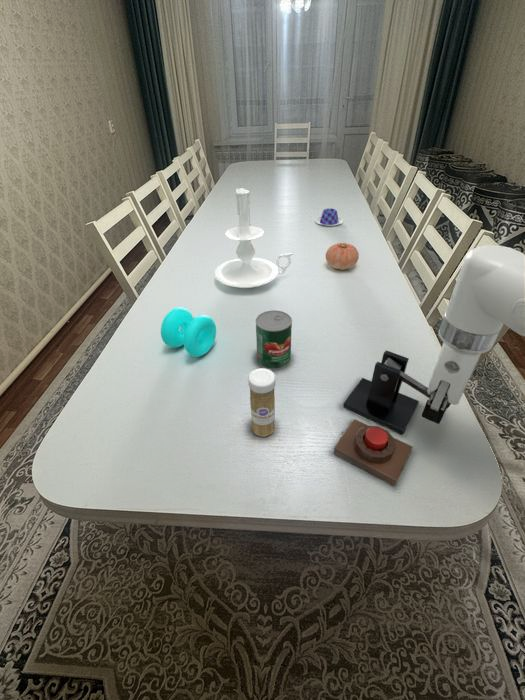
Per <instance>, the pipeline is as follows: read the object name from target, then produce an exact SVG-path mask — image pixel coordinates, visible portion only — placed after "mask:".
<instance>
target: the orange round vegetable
mask: <svg viewBox="0 0 525 700" xmlns="http://www.w3.org/2000/svg"><path fill="white" fill-rule="evenodd" d="M359 258H360V253H359V251H358V249H357V248H356V247H355V246H354V245H352V244H350V243H347V242H338V243H334V244H332V245H331V246H329V247H328V248H327V250H326V252H325V260H326V262H327V264H328V265H329V266H330V267H331V268H333V269H336V270H339V271H340V270H342V271H343V270H348V269H351V268H353V267H354V266H356V264H357V263H358V261H359Z"/></svg>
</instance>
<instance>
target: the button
mask: <svg viewBox="0 0 525 700" xmlns="http://www.w3.org/2000/svg"><path fill="white" fill-rule="evenodd" d="M380 428H381V427H380ZM380 428H377V427H372V428H369V429H368V430H367V431H366V434H365V438H364V442H365V444H366V446H367V447H368V448H370V449H372V450H376V451H379V450H382V449H384V448H385V446H386V443H387V440H388V436H387V434H386V432H385V431H384V430H382V429H380Z"/></svg>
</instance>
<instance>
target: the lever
mask: <svg viewBox="0 0 525 700" xmlns="http://www.w3.org/2000/svg"><path fill="white" fill-rule="evenodd" d="M384 364H385V365H388V366H391V367H393V368H396V369H398V370H400V369H401V367H402V365H400V364H399V363H397V362H395V361H394V360H392V359H391V358H388V359H387V360H386V362H385V363H384ZM399 379H400V380H401V381H402V383H405V384H406V385H407V386H409V387H411V388H413V389H414V390H415V391H417V392H419V393H420V394H422V395H423V396H425V397H426V398H428V399H429V398H430V396H431V394H430V395H429V394H428V392H427V390H428V387H427V386H426V385H424V384H423V383H421V382H420V381H418V380H416V379H415V378H413V377H411V376H410V375H409V374H407V373H406V372H405V373H404V372H402V371H401V374H400V377H399ZM434 398H435V396H434ZM444 401H445V399H444V398H443V400H442V402H443V403H444ZM451 405H452V404H451V403H449V401H448V402H447V405H446V407H447V409H449V408H450V407H451Z"/></svg>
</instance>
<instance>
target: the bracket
mask: <svg viewBox="0 0 525 700" xmlns="http://www.w3.org/2000/svg"><path fill="white" fill-rule="evenodd" d="M388 358H391V359H392V360H394V361H395V362H397V363H399V364H400V365H402V367H401V369H400V370H398V369H396V368H393V367H391V366H388V365H385V364H384V363H385V362H386V360H387V359H388ZM409 360H410V358H409V357H406V356H404V355H400V354H397V353H395V352H392V351H389V350H387V349H386V350H385V351H383V354H382V358H381V362H380V361H376V362H375V364H374V369H373V373H372V376H371V380H369V379H367V378H364V377H362V378H361V379H360V380H359V381H358V383H357V384H356V385H355V387H354V388H353V390H352V391H351V393H349V395H348V396H347V398H346V399H345V401H344V402H343V408H344V409H347V410H349V411H350V412H353V413H355V414H357V415H360V416H361V417H364V418H366V419H369V420H370V421H372V422H375V423H377V424H379V425H381V426H383V427H384V428H387V429H390V430H392V431H394V432H395V433H398V434H400V435H403V434H404V432H405V431H406V428H407V427H408V425H409V423H410V421H411V420H412V418H413V414H414V413H415V411H416V409H417V407H418V405H419V403H420V401H419V400H418V399H415V398H413V397H410V396H408V395H406V394H403V393H401V392H400V390H401V387H402V383H403V381H401V380H400V379H399V377H400V374H401V371H402V372H404V373H405V374H406V369H407V366H408V365H409Z"/></svg>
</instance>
